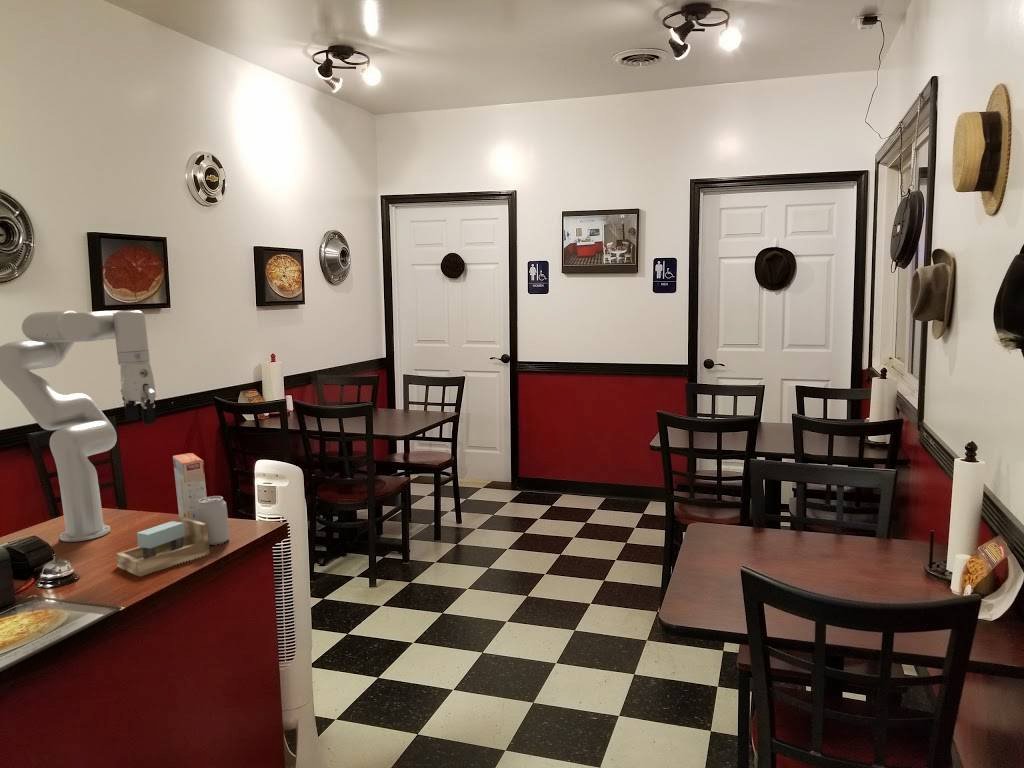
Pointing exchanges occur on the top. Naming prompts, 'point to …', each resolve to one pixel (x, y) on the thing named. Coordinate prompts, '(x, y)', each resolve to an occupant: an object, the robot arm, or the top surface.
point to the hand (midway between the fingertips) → (140, 422)
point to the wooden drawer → (167, 551)
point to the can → (214, 518)
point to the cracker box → (189, 483)
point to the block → (160, 534)
